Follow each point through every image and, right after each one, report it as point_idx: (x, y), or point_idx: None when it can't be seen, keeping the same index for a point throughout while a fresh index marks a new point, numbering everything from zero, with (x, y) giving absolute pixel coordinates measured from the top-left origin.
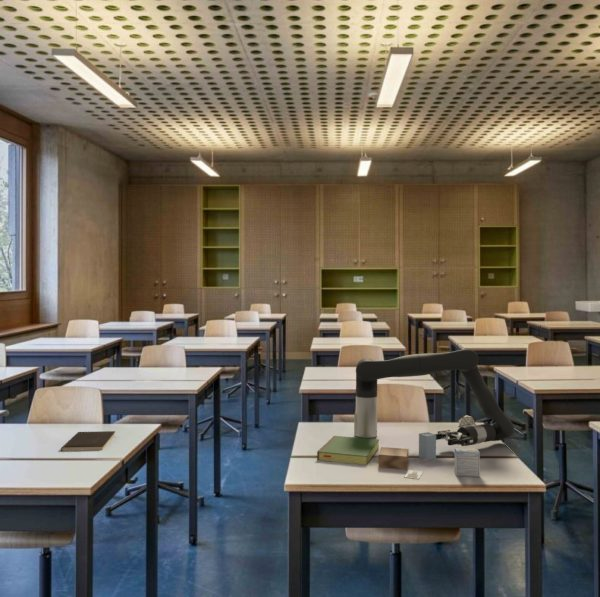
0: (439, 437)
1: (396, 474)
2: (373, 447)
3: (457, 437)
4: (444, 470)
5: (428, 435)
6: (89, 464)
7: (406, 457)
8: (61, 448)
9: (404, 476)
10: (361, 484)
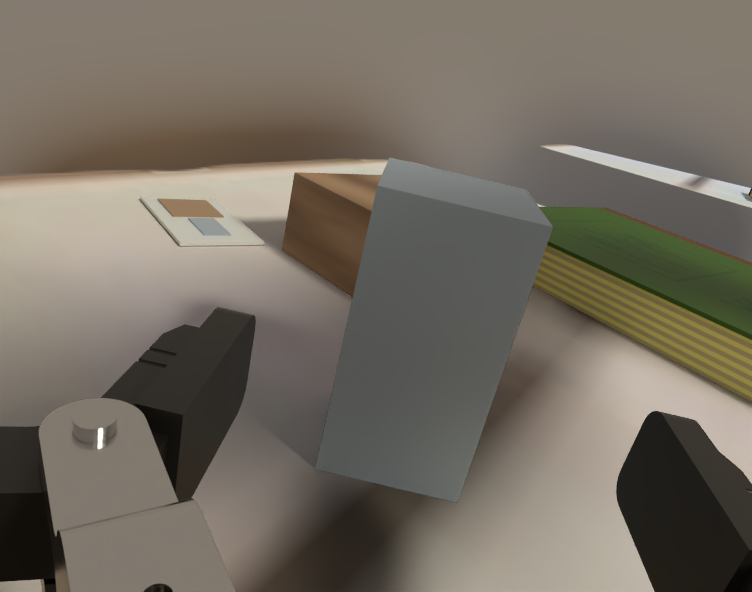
0: (681, 577)
1: (269, 214)
2: (621, 276)
3: (152, 482)
4: (58, 292)
5: (407, 169)
6: (658, 176)
7: (295, 178)
8: (750, 190)
9: (216, 200)
10: (285, 165)
